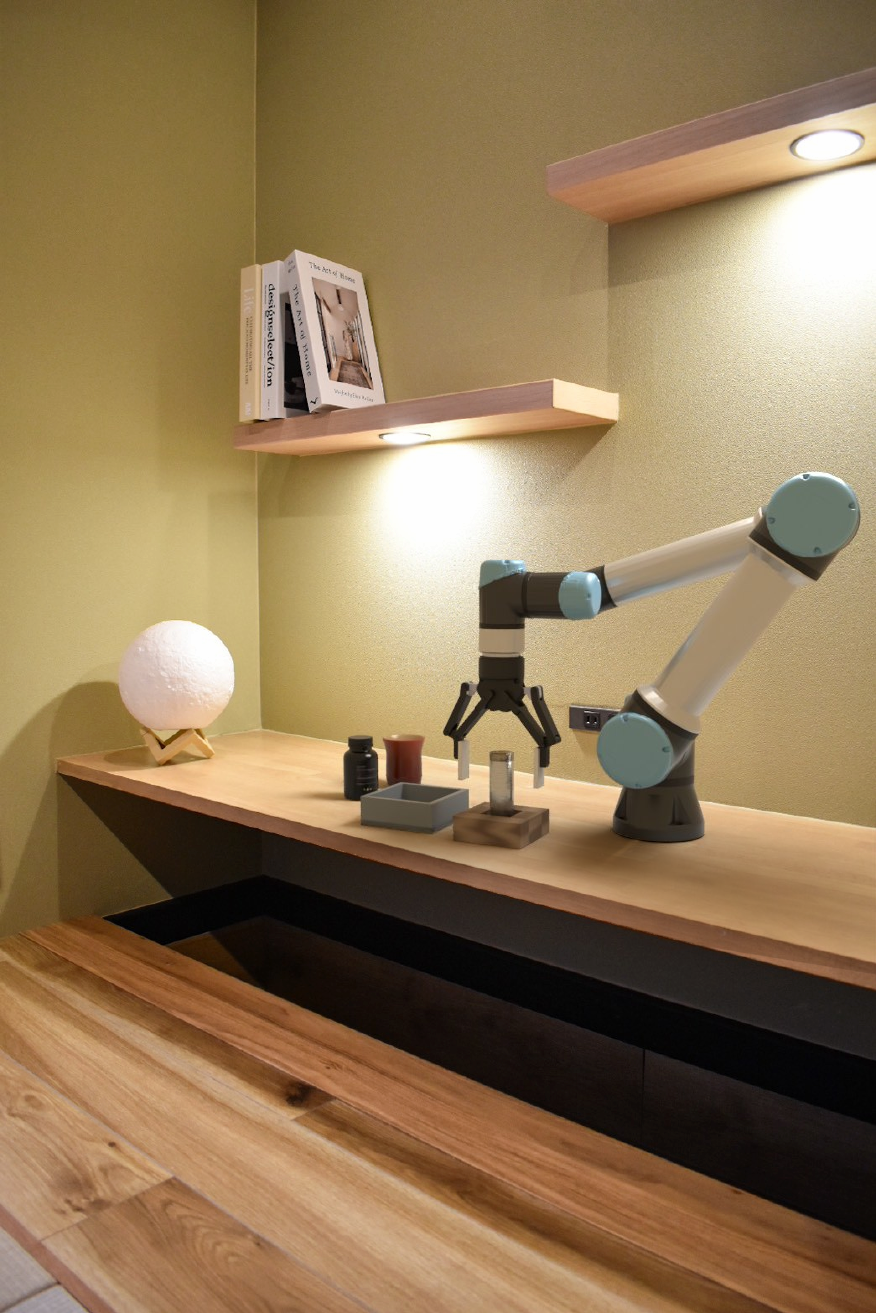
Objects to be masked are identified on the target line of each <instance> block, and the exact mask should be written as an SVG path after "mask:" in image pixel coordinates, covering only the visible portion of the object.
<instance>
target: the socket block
mask: <svg viewBox="0 0 876 1313" xmlns="http://www.w3.org/2000/svg"><path fill="white" fill-rule="evenodd" d="M549 833H550V808H548V807H547V808H546V807H536V806H527V805H526V806H525V805H517V804H514V816H512V817H502V816H493V815H490V801H483V802H481V803H478V804H477V805H474V806H471V807H469V809H467V810H465V811H463V812H461V813H458V814H456V815H454V816H453V824H452V841H457V842H464V843H471V844H472V843H473V844H480V845H486V844H487V845H488V846H494V847H495V846H496V847H503V848H508V849H509V848H510V849H518V850H521V849H523V848H525V847H527V846H528V845H531V844H532V843H533V842H535V841H537V840H538V839H540V838H542V837H543V836H545V835H546V834H549ZM487 845H486V846H487Z"/></svg>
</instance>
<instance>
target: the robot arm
mask: <svg viewBox="0 0 876 1313" xmlns="http://www.w3.org/2000/svg"><path fill="white" fill-rule="evenodd" d="M861 518H862V517H861V508H860V503H859V500H858V498H857V496H856V493H855V491H854V490H853V489H852V488H851V486H850V485H849V484H848V483H846V482H844V481H843V479H842V478H838V477H836V476H834V475H833V474H831V473H827V472H820V471H811V472H809V471H808V472H806V473H805V472H804V473H801V474H798V475H795V476H793V477H791V478H789V479H788V480H786V481H785V482H783V483H782V484H781V485H779V487H778V488H776V490H775V491H774V493H772V496H771V498H770V501H769V502H768V504H767V505H763V506H760V507H758V509H757V511H756V513H755V514H754V515H753V516H749V517H747V518H744V519H741V520H738V521H735V522H732V523H729V524H726V525H722V526H720V527H717V528H713V529H710V530H707V531H705V532H701V533H698V534H695V535H691V536H688V537H685V538H682V539H680V540H677V541H676V540H675V541H673V542H670V543H668V544H664V545H661V546H657V547H655V548H651V549H649V550H646V551H642V552H639V553H637V554H633V555H630V556H627V557H624V558H621V559H618V560H615V561H613V562H609V563H605V564H602V565H599V566H596V567H592V568H589V569H587V570H584V571H580V570H579V571H576V570H575V571H548V572H547V571H544V572H543V571H541V572H537V571H536V572H535V571H528V570H527V566H526V562H525V561H524V560H522V559H487V560H484V561H482V563H481V565H480V567H479V568H480V569H479V582H478V586H477V587H478V610H479V611H478V621H479V622H478V652H479V653H481V655H479V657H478V673H477V674H478V682H477V683H474V682H473V681H464V682H462V683H461V684H460V690H459V696H458V698H457V700H456V702H455V705H454V706H453V709H452V711H451V713H450V715H449V718H448V720H447V722H446V724H445V726H444V728H443V729H442V730H443V731H442V734H443V735H444V736H445V737H449V738H451V739H452V741H453V759H454V760H457V780H458V781H465V780H466V779H469V778H470V739H468V738H467V735H468V734H469V733H470V731H472V730H473V728H474V727H475V726H476V724H477V723H478V722H479V721H480V720H481V718H482V717H483V716H484V715H485V714H486V713H487V711H489V712H497V711H499V712H502V713H509V712H511V713H512V714H513V715H514V716H516V717H517V719H518V720H519V722H521V724H522V725H523V727H524V728H525V729H526V731H527V732H528V734H529V735H530V736H531V738H532V739H533V740H534V742H535V743H536V745H537V746H536V747H534V748H533V778H532V779H533V787H532V788H533V789H538V790H539V789H540V788H543V787H544V786H545V769H546V768H549V766H550V761H551V760H550V758H551V746H555V745H558V744H560V743H561V742H562V737H561V735H560V732H559V730H558V727H557V726H556V723H555V721H554V719H553V717H552V715H551V712H550V710H549V707H548V705H547V703H546V701H545V698H544V688H543V686H542V685H540V684H538V685H534V686H526V684H525V671H526V670H525V669H526V667H525V665H526V664H525V662H526V661H525V660H526V659H525V657H524V656H523V655H522V654H523V653H524V652H526V650H525V649H526V648H525V647H526V646H525V644H526V643H525V641H526V639H525V638H526V632H525V631H526V630H525V629H526V619H528V620H529V619H533V620H534V619H539V620H540V619H541V620H542V619H544V620H565V621H566V620H568V621H572V622H576V621H583V620H593V619H594V618H596V616H599V615H600V614H602V613H603V612H607V611H610V610H613V609H616V608H618V607H622V606H626V605H629V604H632V603H635V602H638V601H642V600H646V599H648V598H653V597H655V596H659V595H662V594H664V593H665V594H666V593H669V592H671V591H676V590H679V589H682V588H685V587H688V586H692V585H696V584H699V583H702V582H705V581H708V580H711V579H715V578H718V577H722V576H725V575H729V574H732V573H733V574H732V576H730V578H729V579H728V581H727V582H726V583H725V585H724V586H723V587H722V588H721V590H720V591H719V593H718V594H717V596H716V597H715V599H713V601H712V602H711V604H709V607H708V608H706V610H705V612H704V613H703V614H702V616H701V617H700V618H699V620H698V621H697V622H696V624H695V626H694V627H693V628H692V629H691V630H690V632H689V634H688V635H687V636H686V637H685V639H684V640H683V641H682V643H681V644H680V645H679V647H678V649H676V651H675V652H674V654H673V655H672V657H671V658H670V659H669V661H667V663H666V665H665V666H663V667H664V668H663V669H662V670H661V671H660V672H659V674H658V675H657V677H656V678H655V680H653V682H649V683H643V684H639V685H638V686H637V687H636V689H635V690H634V691H633V692H632V693H631V694H628V695H626V696H625V697H624V703H623V706H622V707H621V708H620V710H619V711H618V712H617V713H616V715H615V716H613V717H611V718H610V719H609V720H607V721H606V722H605V723H604V724H603V726H602V728H601V730H600V732H599V734H598V737H597V741H596V755H597V756H596V757H597V759H598V763H599V764H600V767H601V768H602V771H603V772H604V773H605V774H606V775H607V776H608V777H609V778H610V779H611V780H612V781H614V782H615V783H616V784H619V785H620V786H622V787H621V790H620V794H619V796H618V800H617V801H616V802H617V803H616V805H615V808H614V811H613V814H612V831H613V832H614V833H616V834H617V835H620V836H623V837H625V838H626V837H627V838H629V839H635V840H641V841H650V842H682V841H690V840H697V839H699V838H701V837H703V836H704V835H705V827H706V826H705V823H706V821H705V818H704V814H703V811H702V808H701V804H700V802H699V798H698V795H697V792H696V789H695V764H696V762H695V759H696V758H695V757H696V756H695V755H696V752H695V751H696V739H697V738H698V736H699V735H700V733H701V732H702V725H701V724H702V723H701V722H702V721H701V715H702V714H703V713H704V712H705V711H706V709H707V708H708V707H709V705H710V704H711V702H712V701H713V700H714V699H715V697H716V696H717V695H718V693H719V692H720V691H721V689H722V688H724V687H723V686H724V685H725V684H726V683H727V681H728V680H729V679H730V678H731V676H732V675H733V674H734V672H735V671H736V670H737V669H738V667H739V666H740V664H741V663H742V662H743V661H744V660H745V658H746V657H747V655H748V654H749V653H750V652H751V650H752V649H753V648H754V646H755V645H756V643H757V642H758V640H760V638H761V637H762V635H763V634H764V633H765V631H766V630H767V629H768V628H769V627H770V625H771V624H772V623H773V621H774V620H775V619H776V617H778V615H779V614H780V612H781V611H782V610H783V608H784V607H785V606H786V605H787V603H788V602H789V601H790V599H791V598H792V596H793V595H794V594H795V593H796V591H797V590H798V589H799V588H800V587H803V586H807V585H813V584H816V583H817V582H818V581H819V579H820V578H821V577H822V575H823V574H824V573H825V571H826V570H827V569H828V568H829V566H830V565H831V564H832V562H833V561H834V560H835V558H836V557H837V556H838V555H839V554H840V552H841V551H843V550H844V549H846V548H847V546H848V545H850V544H851V542H852V541H853V540H854V539H855V537H856V536H857V534H858V531H859V528H860V525H861ZM476 693H477V695H478V696H479V698H480V699H479V701H478V702H477V704H476V705H475V706H474V709H473V710H472V711H471V712H470V713H469V715H468V716H467V717H466V718H465V720H464V721H463V722H462V719H463V717H464V715H465V713H466V711H467V709H468V707H469V704H470V703H471V700H472V697H473V696H474V695H476ZM526 695H527V698H528V699H529V700H530V702H531V704H532V707H533V709H534V711H535V713H536V716H537V718H538V721H539V723H540V725H539V723H538V721H537V720H536V719H535V718H534V716H533V714H531V712H530V711H529V708H528V706H527V705H526V703H525V702H524V701H523V699H524V698H525V696H526ZM461 722H462V723H461ZM460 724H461V725H460ZM466 738H467V739H466Z"/></svg>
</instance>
